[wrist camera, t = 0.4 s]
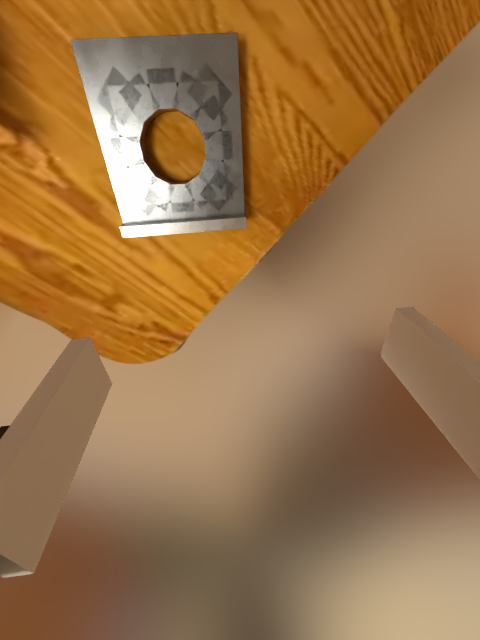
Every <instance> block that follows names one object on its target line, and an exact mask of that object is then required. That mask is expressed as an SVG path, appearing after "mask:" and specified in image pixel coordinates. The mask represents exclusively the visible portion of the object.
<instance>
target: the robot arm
mask: <svg viewBox="0 0 480 640" xmlns="http://www.w3.org/2000/svg"><path fill="white" fill-rule="evenodd" d="M381 357H382V358H383V360H384V361H385V362H386V363H387V365H388V366H389V367H390V368H391V370H392V371H393V372H394V373H395V375H396V376H397V377H398V378H399V379H400V381H401V382H402V383H403V385H404V386H405V387H406V388H407V390H408V391H409V392H410V393H411V395H412V396H413V397H414V398H415V400H416V401H417V402H418V403H419V405H420V406H421V407H422V408H423V410H424V411H425V412H426V413H427V414H428V416H429V417H430V418H431V420H432V421H433V422H434V423H435V425H436V426H437V427H438V428H439V430H440V431H441V432H442V433H443V434H444V436H445V437H446V438H447V440H448V441H449V442H450V443H451V445H452V446H453V447H454V448H455V449H456V451H457V452H458V453H459V455H460V456H461V457H462V458H463V459H464V461H465V462H466V463H467V465H468V466H469V467H470V468H471V470H472V471H473V472H474V473H475V475H476V476H477V477H478V478H479V479H480V361H479V360H478V359H477V358H475V357H474V356H473V355H472V354H471V353H469V352H468V351H467V350H466V349H464V348H463V347H462V346H461V345H459V344H458V343H457V342H455V341H454V340H453V339H452V338H451V337H449V336H448V335H447V334H446V333H444V332H443V331H442V330H441V329H439V328H438V327H437V326H436V325H434V324H433V323H432V322H431V321H430V320H428V319H427V318H426V317H425V316H423V315H422V314H421V313H420V312H418V311H417V310H416V309H415V308H413V307H406V308H397V309H396V310H395V313H394V316H393V319H392V322H391V325H390V328H389V331H388V334H387V337H386V340H385V343H384V346H383V349H382V352H381ZM111 385H112V383H111V380H110V378H109V376H108V374H107V372H106V370H105V368H104V366H103V364H102V362H101V359H100V357H99V355H98V353H97V351H96V349H95V347H94V345H93V342H92V340H91V338H84V339H74V340H71V341H70V342H69V344H68V345H67V347H66V348H65V350H64V351H63V352H62V354H61V355H60V356H59V358H58V359H57V361H56V362H55V364H54V365H53V366H52V368H51V369H50V371H49V372H48V373H47V375H46V376H45V378H44V379H43V380H42V382H41V383H40V385H39V386H38V387H37V389H36V390H35V392H34V393H33V394H32V396H31V397H30V399H29V400H28V401H27V403H26V404H25V406H24V407H23V408H22V410H21V411H20V413H19V414H18V415H17V417H16V418H15V420H14V421H13V423H12V424H11V425H10V426H2V427H0V576H2V577H11V576H18V575H26V574H34V571H35V569H36V567H37V564H38V562H39V560H40V557H41V555H42V552H43V550H44V547H45V545H46V543H47V540H48V538H49V535H50V533H51V531H52V528H53V526H54V523H55V521H56V518H57V516H58V514H59V511H60V509H61V506H62V504H63V501H64V499H65V497H66V494H67V492H68V489H69V487H70V484H71V482H72V480H73V477H74V475H75V472H76V470H77V467H78V465H79V463H80V460H81V458H82V455H83V453H84V450H85V448H86V446H87V443H88V441H89V438H90V436H91V433H92V431H93V429H94V426H95V424H96V421H97V419H98V417H99V414H100V412H101V409H102V407H103V404H104V402H105V400H106V397H107V395H108V392H109V390H110V387H111Z"/></svg>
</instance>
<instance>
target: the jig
mask: <svg viewBox="0 0 480 640" xmlns="http://www.w3.org/2000/svg"><path fill="white" fill-rule="evenodd" d="M70 41H71V44H72V48H73V51H74V55H75V58H76V62H77V65H78V68H79V72H80V75H81V79H82V82H83V86H84V89H85V93H86V96H87V100H88V103H89V107H90V110H91V113H92V117H93V120H94V124H95V127H96V131H97V134H98V138H99V141H100V145H101V148H102V151H103V155H104V158H105V162H106V165H107V169H108V172H109V176H110V179H111V183H112V186H113V189H114V193H115V196H116V200H117V203H118V207H119V210H120V214H121V217H122V221H123V224H122V225H121V226H120V230H121V233H122V237H123V238H129V237H142V236H155V235H168V234H180V233H193V232H206V231H219V230H231V229H244V228H247V225H246V216H245V207H244V182H243V157H242V132H241V107H240V82H239V58H238V33H215V34H192V35H168V36H145V37H121V38H98V39H74V40H70ZM174 111H179V112H181V113H182V114H184V115H186V116H187V117H189V118H191V119H192V120H194V121H195V123H196V124H197V126H198V128H199V129H200V131H201V133H202V134H203V136H204V143H205V152H206V158H205V161H204V164H203V166H202V169H201V172H200V173H199V174H197V175H196V176H195V177H194V178H192V179H191V180H190V181H186V182H172V181H170V180H168V179H167V178H165V177H163V176H161V175H159V174H158V172H157V171H156V170H155V168H154V167H153V165H152V164H151V163H150V161H149V160H148V155H147V150H146V146H145V138H146V134H147V130H148V126H149V123H150V122H151V121H153V120H154V119H155V118H156V117H157V116H158V115H159V114H160V113H162V112H174ZM220 130H221V131H220ZM221 160H223V161H221Z"/></svg>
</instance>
